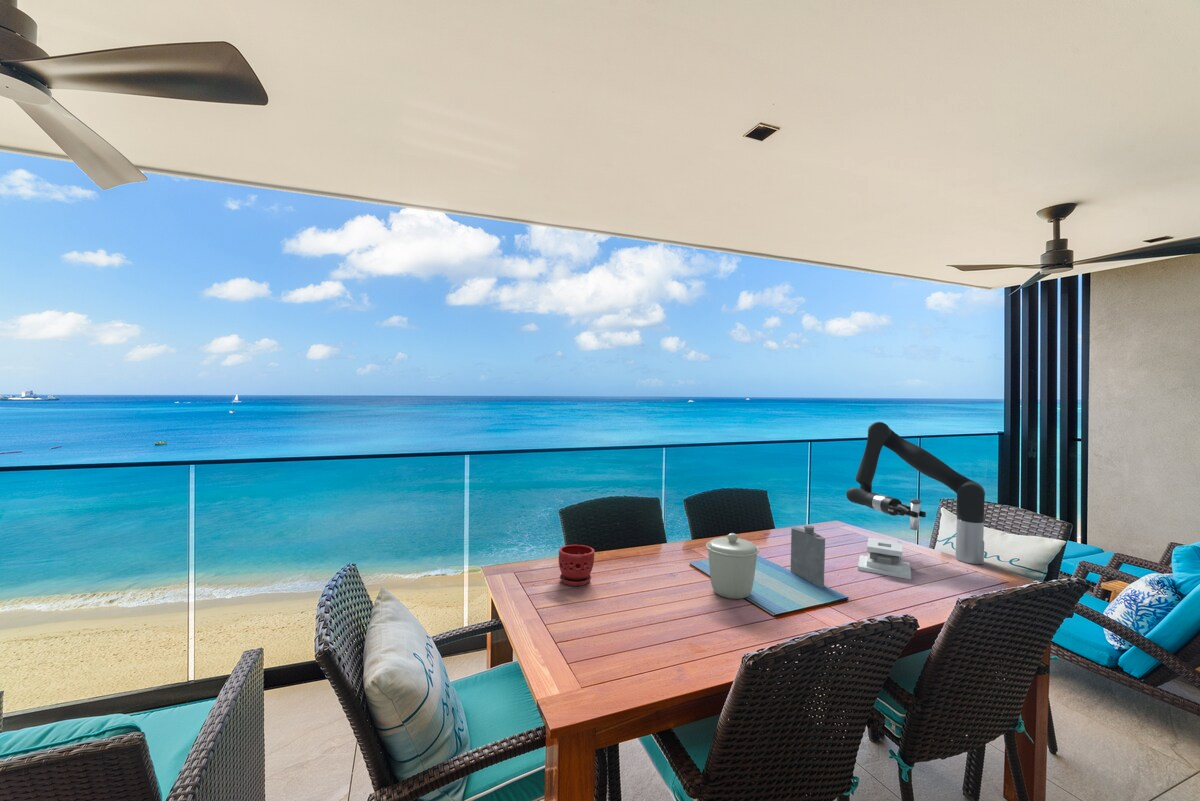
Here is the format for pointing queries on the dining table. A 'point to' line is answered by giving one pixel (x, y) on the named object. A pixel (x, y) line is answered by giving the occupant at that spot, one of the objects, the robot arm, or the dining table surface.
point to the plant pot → (576, 564)
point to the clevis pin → (916, 508)
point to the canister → (732, 566)
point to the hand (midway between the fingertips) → (921, 515)
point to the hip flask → (808, 554)
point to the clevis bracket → (884, 559)
